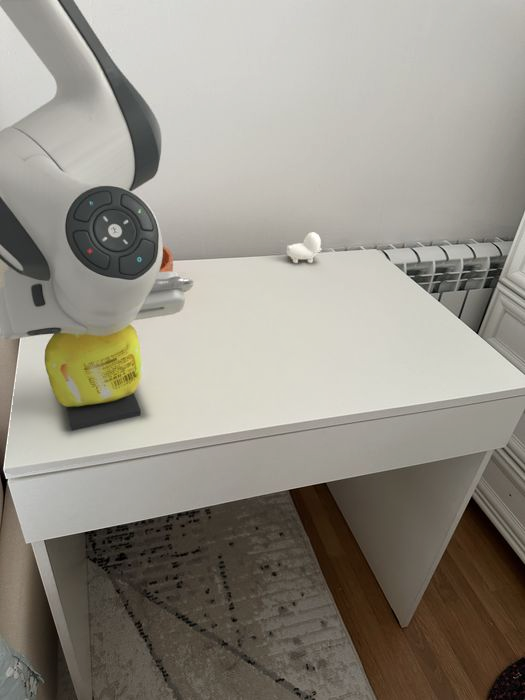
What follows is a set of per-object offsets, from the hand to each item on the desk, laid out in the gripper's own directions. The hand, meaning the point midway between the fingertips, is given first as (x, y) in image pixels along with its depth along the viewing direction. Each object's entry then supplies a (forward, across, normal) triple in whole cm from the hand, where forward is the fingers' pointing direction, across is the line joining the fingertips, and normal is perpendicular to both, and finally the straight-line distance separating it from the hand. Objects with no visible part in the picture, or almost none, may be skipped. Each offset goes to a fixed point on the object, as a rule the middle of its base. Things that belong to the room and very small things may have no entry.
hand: (91, 321), depth 67 cm
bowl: (+31, -11, -13) cm, 35 cm away
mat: (+8, 0, +10) cm, 13 cm away
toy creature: (+32, -49, -13) cm, 60 cm away
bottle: (+8, 0, +9) cm, 12 cm away
